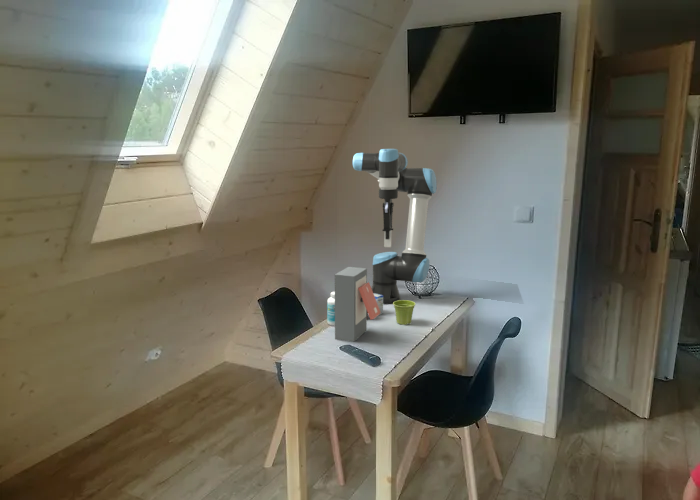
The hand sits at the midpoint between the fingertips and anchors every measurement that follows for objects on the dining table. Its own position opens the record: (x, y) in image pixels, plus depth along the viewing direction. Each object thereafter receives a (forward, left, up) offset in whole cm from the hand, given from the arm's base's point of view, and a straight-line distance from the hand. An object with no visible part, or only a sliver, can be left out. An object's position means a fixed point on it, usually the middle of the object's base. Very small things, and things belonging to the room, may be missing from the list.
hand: (387, 246), depth 221 cm
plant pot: (-6, +6, -34) cm, 35 cm away
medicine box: (-17, -9, -34) cm, 39 cm away
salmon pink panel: (+14, -2, -25) cm, 29 cm away
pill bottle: (+1, -22, -34) cm, 40 cm away
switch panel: (+13, -11, -34) cm, 38 cm away
